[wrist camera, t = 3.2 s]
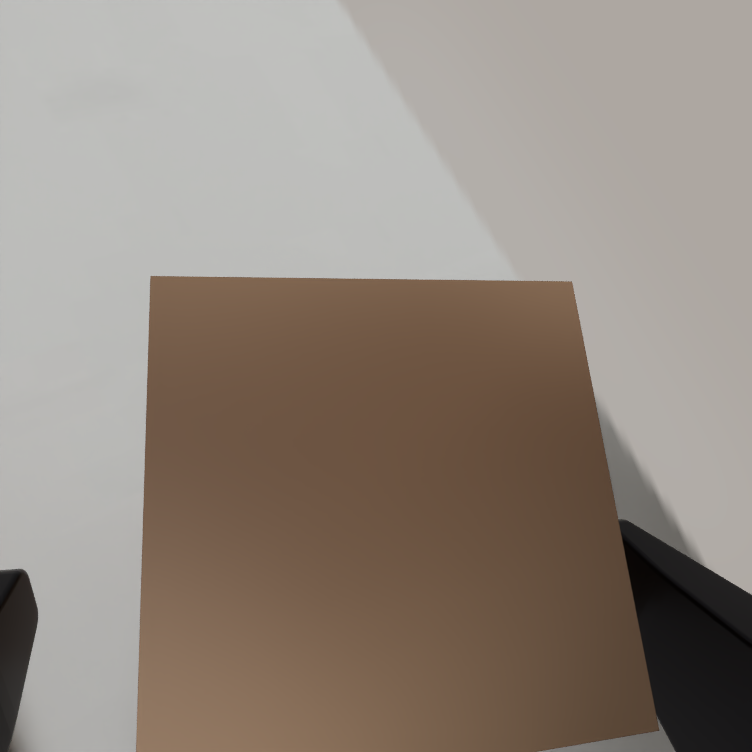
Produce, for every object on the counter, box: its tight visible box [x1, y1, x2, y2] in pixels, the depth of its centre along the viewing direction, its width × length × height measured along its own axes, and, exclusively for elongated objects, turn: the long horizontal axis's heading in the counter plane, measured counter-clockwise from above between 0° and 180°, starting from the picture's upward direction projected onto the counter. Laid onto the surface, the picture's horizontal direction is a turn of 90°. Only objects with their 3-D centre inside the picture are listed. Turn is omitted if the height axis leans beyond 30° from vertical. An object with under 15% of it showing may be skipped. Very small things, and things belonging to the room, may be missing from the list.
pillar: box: [136, 276, 659, 752], centre depth 11 cm, size 4×4×12 cm
